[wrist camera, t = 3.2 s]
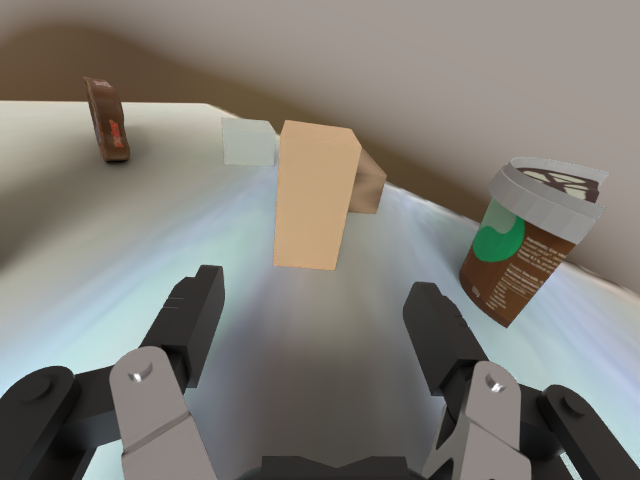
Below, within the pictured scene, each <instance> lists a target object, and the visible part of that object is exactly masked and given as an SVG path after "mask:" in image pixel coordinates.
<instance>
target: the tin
mask: <svg viewBox="0 0 640 480" xmlns="http://www.w3.org/2000/svg"><path fill="white" fill-rule="evenodd" d="M84 83H85V89H86V94H87V98H88V103H89V108H90V112H91V116H92V120H93V125H94V130H95V134H96V138H97V141H98V144H99V147H100V150H101V153H102V156H103V159H104V161H122V160H128V159H129V158H130V149H129V145H128V143H127V139H126V134H125V129H124V114H123V109H122V105H121V101H120V98H119V95H118V93H117V91H116V90H115V89H114V87H113V86H112V85H111V84H110V83H109V82H108V81H105V80H99V79H93V78H86V77H84Z"/></svg>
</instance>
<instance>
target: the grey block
mask: <svg viewBox="0 0 640 480" xmlns="http://www.w3.org/2000/svg"><path fill="white" fill-rule="evenodd" d="M222 134H223V150H224V163H225V165H251V166H274V158H275V135H276V132H275V131H274V129H273V128H272V126H271V125H270V123H269V122H268V121H260V120H247V119H235V118H223V117H222Z"/></svg>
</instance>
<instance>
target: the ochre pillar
mask: <svg viewBox="0 0 640 480" xmlns="http://www.w3.org/2000/svg"><path fill="white" fill-rule="evenodd" d="M361 148H362V147H361V145H360V143H359V142H358V140H357V139H356V137H355V135H354V134H353V132H352V130H351V129H347V128H340V127H332V126H325V125H318V124H310V123H304V122H297V121H290V120H286V121H285V124H284V126H283V129H282V132H281V135H280V150H279V168H278V186H277V204H276V223H275V241H274V259H273V265H274V266H286V267H298V268H311V269H323V270H335V267H336V262H337V257H338V253H339V248H340V244H341V239H342V235H343V230H344V226H345V221H346V216H347V212H348V207H349V203H350V198H351V194H352V189H353V185H354V180H355V175H356V171H357V166H358V162H359V157H360V153H361Z"/></svg>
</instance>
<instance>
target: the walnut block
mask: <svg viewBox="0 0 640 480" xmlns="http://www.w3.org/2000/svg"><path fill="white" fill-rule="evenodd" d="M386 177H387V175H386V174H385V173H384V172H383V171H382V169H381V168H380V167H379V166H378V165H377V164H376V163H375V161H374V160H373V159H372V158H371V157H370V156H369V155H368V154H367V152H366V151H365V150H364V149H361V153H360V157H359V162H358V166H357V171H356V175H355V180H354V185H353V189H352V194H351V198H350V203H349V207H348V212H355V213H370V214H376V212H377V208H378V205H379V201H380V198H381V194H382V191H383V187H384V184H385V180H386Z"/></svg>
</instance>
